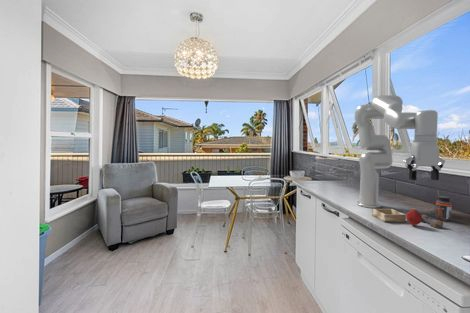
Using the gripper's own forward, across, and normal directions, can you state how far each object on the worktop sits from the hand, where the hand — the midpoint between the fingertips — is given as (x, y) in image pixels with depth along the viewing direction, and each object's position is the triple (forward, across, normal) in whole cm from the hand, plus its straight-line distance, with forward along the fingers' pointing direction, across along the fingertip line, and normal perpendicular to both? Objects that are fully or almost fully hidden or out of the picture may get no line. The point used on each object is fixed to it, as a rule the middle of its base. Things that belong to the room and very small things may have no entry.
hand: (423, 179), depth 105 cm
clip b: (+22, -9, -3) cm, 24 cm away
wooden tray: (+22, +5, -15) cm, 27 cm away
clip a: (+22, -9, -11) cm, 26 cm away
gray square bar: (+22, -9, -7) cm, 24 cm away
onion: (+22, 0, -5) cm, 22 cm away
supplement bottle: (+22, -21, -13) cm, 33 cm away
